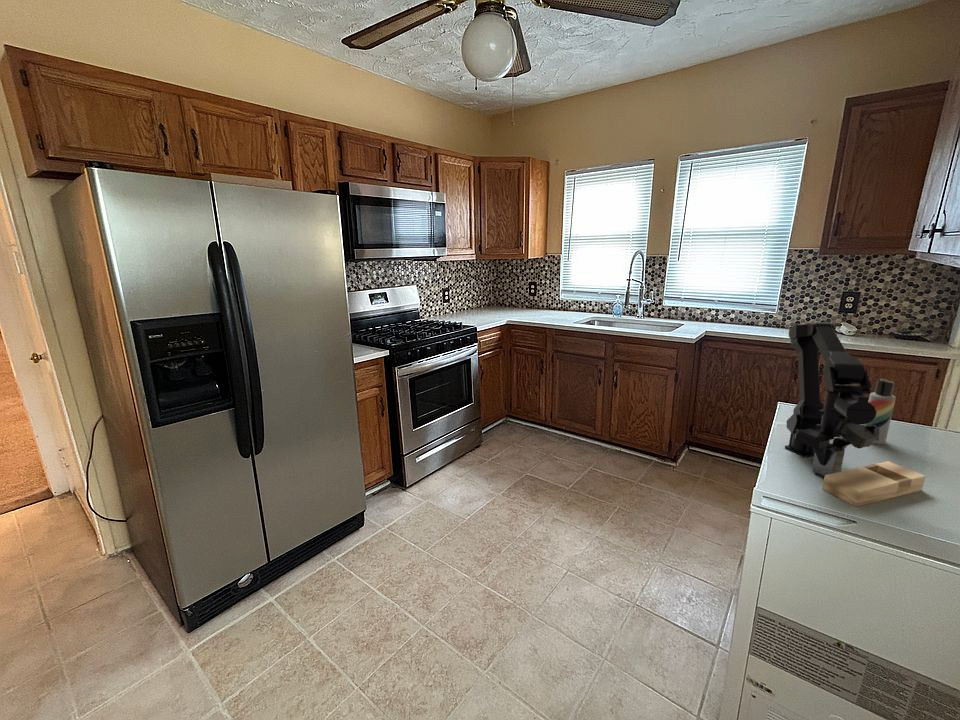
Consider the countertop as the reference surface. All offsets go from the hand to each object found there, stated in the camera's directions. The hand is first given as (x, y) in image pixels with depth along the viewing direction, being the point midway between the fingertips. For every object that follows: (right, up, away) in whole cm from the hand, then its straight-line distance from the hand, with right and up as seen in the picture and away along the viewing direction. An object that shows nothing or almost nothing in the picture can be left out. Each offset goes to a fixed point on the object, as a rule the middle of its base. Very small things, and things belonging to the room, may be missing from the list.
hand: (827, 463), depth 112 cm
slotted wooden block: (+6, -5, -6) cm, 10 cm away
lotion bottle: (+30, +2, +19) cm, 36 cm away
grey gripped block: (0, -3, +1) cm, 3 cm away
